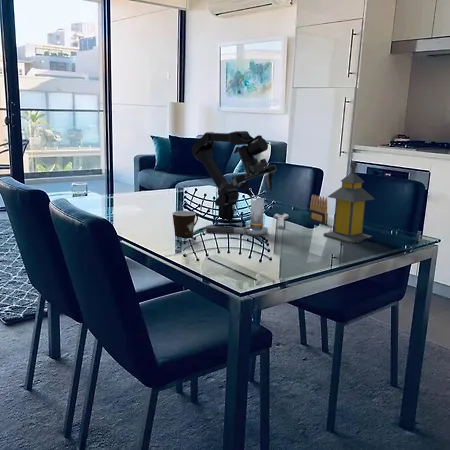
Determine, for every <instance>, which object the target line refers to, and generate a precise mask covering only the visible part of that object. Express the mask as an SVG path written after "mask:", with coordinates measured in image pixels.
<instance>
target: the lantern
mask: <svg viewBox="0 0 450 450" xmlns="http://www.w3.org/2000/svg"><path fill="white" fill-rule="evenodd" d="M357 166H358V162H357V161H355V160H353V161H351V162H350V169H351V170H350V171H351V173H349V174H347V175H346V176H345V177H344V178H342V179H341V180H340V182H341V187H339V188H338V189H337V190H335V191H334V192H332V193H331V194H329V195H328V196H327V198H331V199H335V205H334V207H335V208H334V220H333V221H334V222H333V231H329V232H328V231H327V232H324V233H323V237H325V238H329V239H332V240H334V241H339V242H342V243H345V242H346V243H345V244H349V243H353V242H357V241H360V240H363V239H366V238H370V237H372V238H373V236H372V235H369V234H366V233H363V231H364V221H365V213H366V212H365V210H366V202H367V201H373V200H375V198H374V197H373V195H371V194H370V193H369V192H367V191H366V190H365V189H364V188H363V183H365V181H364V180H363V179H362V178H361V177H360V176H359V175H358V174H356V173H355V172H356V169H357ZM357 243H358V242H357ZM353 244H354V243H353Z"/></svg>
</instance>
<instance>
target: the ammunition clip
mask: <svg viewBox="0 0 450 450" xmlns="http://www.w3.org/2000/svg"><path fill="white" fill-rule="evenodd" d="M310 199H311V200H310V204H309V205H310V206H309V209H308V221H311V222H312V223H316V224H319V225H322V226H327V225H328V218H329V217H328V215H329V214H328V197H325V196H323V197H322V196H321V195H320V196H319V195H316V194H312V195H311V198H310Z"/></svg>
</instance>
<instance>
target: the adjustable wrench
mask: <svg viewBox="0 0 450 450" xmlns="http://www.w3.org/2000/svg"><path fill="white" fill-rule="evenodd" d="M273 219H276V220H278V222H277V229H279V230H284V228H285V226H284V225H285V222H284V221H285V220H286V219H289V214H287V213H282V214H279V213H275V214H274V215H273Z"/></svg>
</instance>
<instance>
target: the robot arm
mask: <svg viewBox="0 0 450 450" xmlns="http://www.w3.org/2000/svg"><path fill="white" fill-rule="evenodd" d="M215 142H222V143H223V142H224V143H229V144H230V145H234V146H236V147H235V149H234V152H233V154H238V156H239V158H240V161H241V163H242V168H243V169H244V171H245V175H244V174H241V175H238V176H235V177H234V178H233V179H232V183H231V182H230V183H229V182H228V181H227V179H226V177H225V176H224V175H223V173H222V171H221V169H220V168H219V166H218V165H217V163H216V161H215V160H214V159H213V151H212V149H213V148H214V144H215ZM268 148H269V144H268V142H267V141H266V139H265V138H263V136H262V135H260V134H258V135H256V136H255V137H253V136H252V135H250V133H249V131H247V130H239V131H238V130H235V131H231V132H214V131H207V132H205V133H204V134H203V135H202V136H201V137H200V138H199V139H197V140H196V141H195V143H193V145H192V148H191V154H192V155H193V156H194V158H195V159H196V160H197V161H199V162H200V163H202V164H203V166H204V168H205V169H206V171H207V173H208V174H209V176H210V178H211V179H212V181H213V182H214V184H215V186H216V188H217V196H218V197H217V198H216V199H215V200H214V204H215V207H216V206H217V207H218V208H217V211H218V217H220V218H222V219H226V220H225V221H233V219H234V217H235V208H234V205H237V203H238V199H239V196H240V193H239V189H237V188H240V189H241V190H243V192H244V193H245V194H247V196H248V197H250V199H252V198H253V194H252V192H251V190H250V187H249V184H248V181H247V180H250V179H253V178H256V177H259V176H262V175H264V180H265V182H266V184H267V188H268V189H269V191H270V192H272V191H273V183H272V182H273V175H274V174H275V172H276V171H278V170H277V167H276V165H275V164H271V165H268V161H267V160H266V158H262V159H260V160H258V159H257V158H255V156H259V155H260V154H261V153H264V152H266V151H267V150H268ZM218 217H217V218H218Z"/></svg>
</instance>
